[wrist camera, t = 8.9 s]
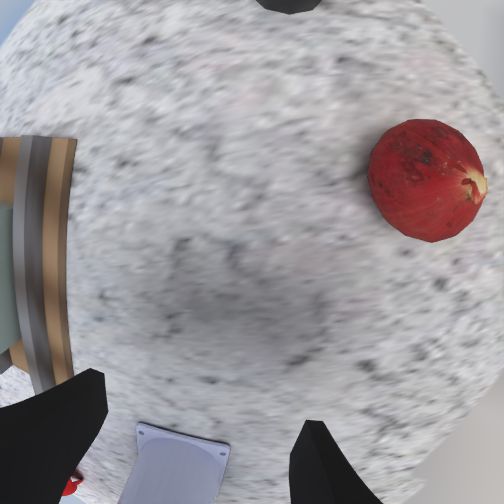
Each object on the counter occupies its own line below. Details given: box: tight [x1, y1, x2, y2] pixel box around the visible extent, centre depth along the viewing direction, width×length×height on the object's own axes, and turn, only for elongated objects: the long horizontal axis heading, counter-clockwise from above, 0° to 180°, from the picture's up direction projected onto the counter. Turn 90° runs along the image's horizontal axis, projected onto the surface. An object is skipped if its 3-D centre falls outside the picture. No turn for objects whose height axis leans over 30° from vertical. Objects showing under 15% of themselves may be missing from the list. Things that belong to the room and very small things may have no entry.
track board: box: [0, 136, 77, 395], centre depth 17 cm, size 20×10×3 cm, turn 169°
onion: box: [367, 119, 488, 243], centre depth 12 cm, size 6×6×8 cm
